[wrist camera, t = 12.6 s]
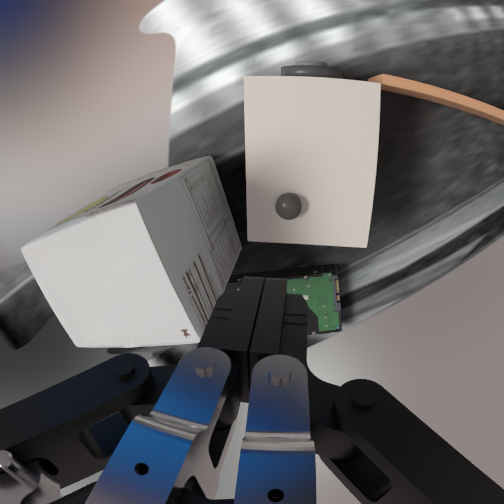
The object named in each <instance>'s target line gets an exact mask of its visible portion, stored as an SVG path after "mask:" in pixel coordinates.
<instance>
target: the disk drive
mask: <svg viewBox="0 0 504 504" xmlns="http://www.w3.org/2000/svg"><path fill="white" fill-rule="evenodd" d="M244 276H248V277H263V278H265V281H266V278H279V279H287V294H302V296H303V297H304V299H305V300H306V302H307V304H308V324H307V335H312V334H325V333H330V332H340V331H342V324H341V304H340V292H339V280H338V270H337V265H336V264H332V265H323V266H322V265H320V266H313V267H306V268H297V269H289V270H279V271H270V272H262V273H252V274H240V275H234V276H230V279H229V281H228V283H227V286H228V289H229V290H239V288H240V285H241V282H242V279H243V277H244Z"/></svg>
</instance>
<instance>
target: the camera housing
mask: <svg viewBox="0 0 504 504" xmlns="http://www.w3.org/2000/svg"><path fill="white" fill-rule="evenodd" d="M380 94H381V83H375V82H367V81H358V80H349V79H342V70H340V69H337V68H332V67H328V64H327V63H323V62H314V61H300V62H295V65H293V66H284V67H281V76H245V77H244V112H245V156H246V198H247V237H248V241H254V242H273V243H292V244H310V245H327V246H344V247H361V248H367V242H368V236H369V229H370V222H371V214H372V206H373V198H374V189H375V179H376V168H377V156H378V142H379V124H380Z"/></svg>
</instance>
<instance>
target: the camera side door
mask: <svg viewBox="0 0 504 504" xmlns="http://www.w3.org/2000/svg"><path fill="white" fill-rule="evenodd" d="M367 82H375V83H381V90H385V91H389V92H394V93H399V94H403V95H408V96H412V97H416V98H420V99H424V100H428V101H432V102H435V103H439V104H443V105H446V106H449V107H453V108H456V109H459V110H462V111H465V112H468V113H471V114H474V115H477V116H480V117H483V118H486V119H488V120H491V121H494V122H496V123H499V124H501V125H504V111H503V110H501V109H499V108H496V107H494V106H491V105H489V104H486V103H483V102H481V101H478V100H475V99H473V98H470V97H467V96H464V95H461V94H458V93H455V92H452V91H449V90H445V89H442V88H439V87H435V86H432V85H428V84H425V83H421V82H417V81H413V80H409V79H405V78H400V77H396V76H391V75H387V74H381V75H378V76H375V77H372V78H369V79H368V81H367Z"/></svg>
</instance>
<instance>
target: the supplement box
mask: <svg viewBox="0 0 504 504" xmlns="http://www.w3.org/2000/svg"><path fill="white" fill-rule="evenodd" d="M241 249H242V246H241V242H240V239H239V236H238V233H237V230H236V227H235V224H234V220H233V217H232V214H231V211H230V208H229V205H228V202H227V199H226V196H225V193H224V190H223V187H222V184H221V181H220V178H219V175H218V172H217V169H216V166H215V163H214V160H213V158H212V157H211V156H205V157H201V158H197V159H193V160H190V161H186V162H183V163H180V164H177V165H174V166H171V167H168V168H165V169H162V170H159V171H156V172H153V173H151V174H148V175H145V176H143V177H140V178H137V179H135V180H133V181H130V182H127V183H125V184H122V185H120V186H118V187H116V188H114V189H112V190H111V191H108V192H107V193H106V194H104V195H102V196H101V197H99V198H97V199H96V200H94V201H92V202H91V203H89V204H87V205H86V206H84V207H82V208H81V209H79V210H78V211H76V212H75V213H73V214H71V215H70V216H68V217H67V218H65V219H64V220H62V221H60V222H59V223H57V224H56V225H54V226H53V227H51V228H50V229H48V230H47V231H45V232H44V233H42V234H41V235H40V236H38V237H36V238H35V239H33V240H31V241H30V242H28V243H27V244H25V245H24V246H23V247H21V252H22V253H23V256H24V258H25V260H26V262H27V264H28V266H29V268H30V270H31V272H32V273H33V275H34V277H35V279H36V281H37V283H38V285H39V287H40V288H41V290H42V292H43V294H44V296H45V297H46V299H47V301H48V303H49V304H50V306H51V308H52V309H53V311H54V313H55V314H56V316H57V318H58V319H59V321H60V322H61V324H62V325H63V327H64V329H65V330H66V332H67V333H68V335H69V336H70V338H71V339H72V341H73V342H74V344H75V345H76V346H77V347H91V348H95V347H97V348H98V347H123V348H130V347H143V346H162V345H178V344H191V343H199V342H200V339H201V337H202V335H203V332H204V330H205V327H206V325H207V323H208V320H209V318H210V316H211V313H212V311H213V310H214V306H215V304H216V301H217V299H218V297H219V296H220V295H222V294H223V292H224V290H225V287H226V285H227V283H228V280H229V278H230V276H231V273H232V271H233V268H234V266H235V263H236V261H237V259H238V256H239V254H240V251H241Z"/></svg>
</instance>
